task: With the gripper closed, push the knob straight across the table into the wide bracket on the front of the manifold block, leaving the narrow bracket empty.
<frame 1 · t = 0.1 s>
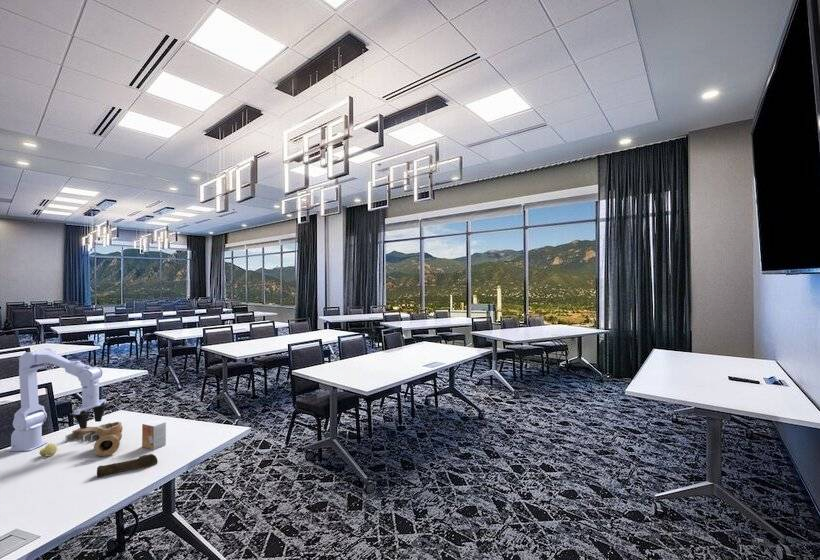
hand: (90, 424, 162), 10 cm above the table, tool pointing down, fingers open, 7 cm apart
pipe: (108, 450, 159), on the table
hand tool: (128, 470, 142), on the table
knob: (48, 456, 154), on the table
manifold: (95, 436, 173), on the table
small box: (154, 446, 162), on the table
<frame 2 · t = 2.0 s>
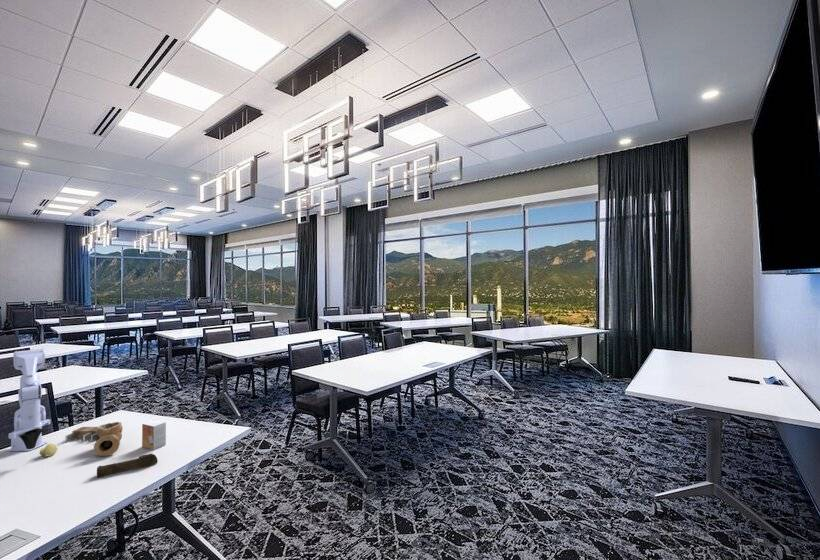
hand: (30, 448, 147), 6 cm above the table, tool pointing down, fingers closed
nothing on the table moved.
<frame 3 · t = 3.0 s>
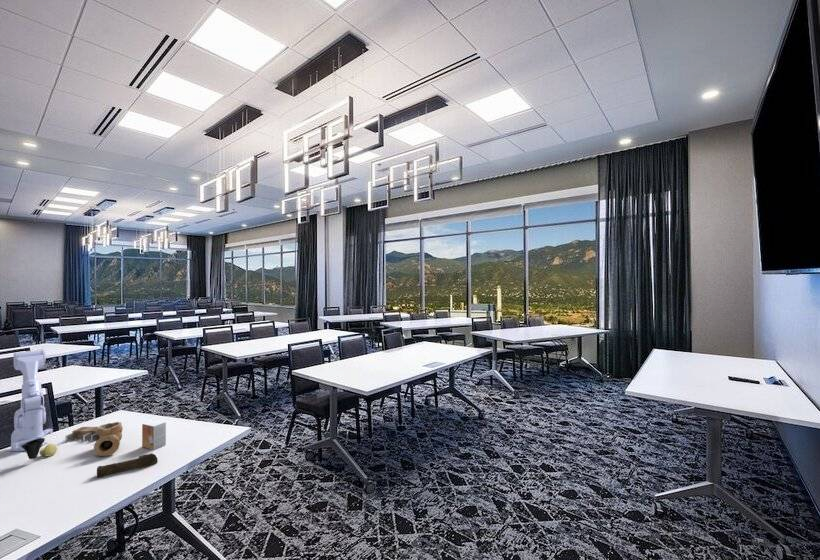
hand: (33, 458, 148), 2 cm above the table, tool pointing down, fingers closed
nothing on the table moved.
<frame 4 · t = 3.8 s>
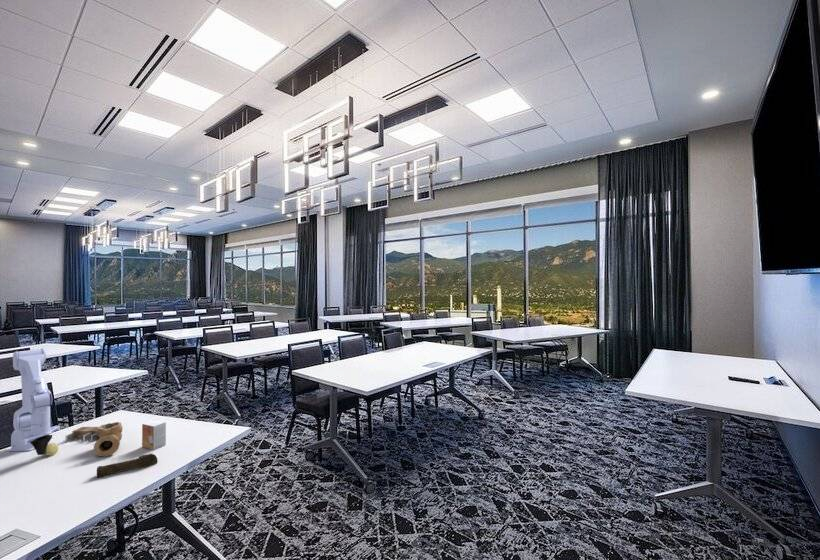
hand: (41, 454, 151), 2 cm above the table, tool pointing down, fingers closed
knob: (49, 455, 155), on the table, touching gripper
everything else where it was.
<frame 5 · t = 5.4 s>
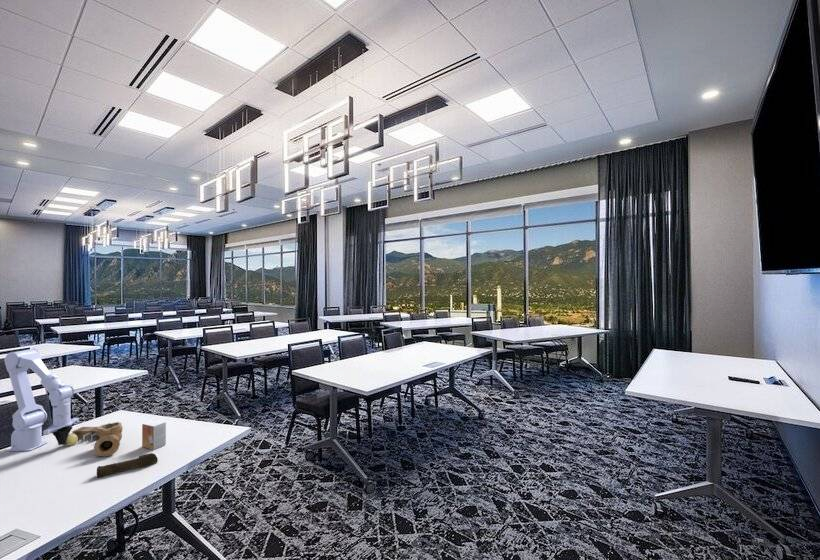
hand: (62, 444, 160), 2 cm above the table, tool pointing down, fingers closed
knob: (69, 445, 164), on the table, touching gripper
everything else where it was.
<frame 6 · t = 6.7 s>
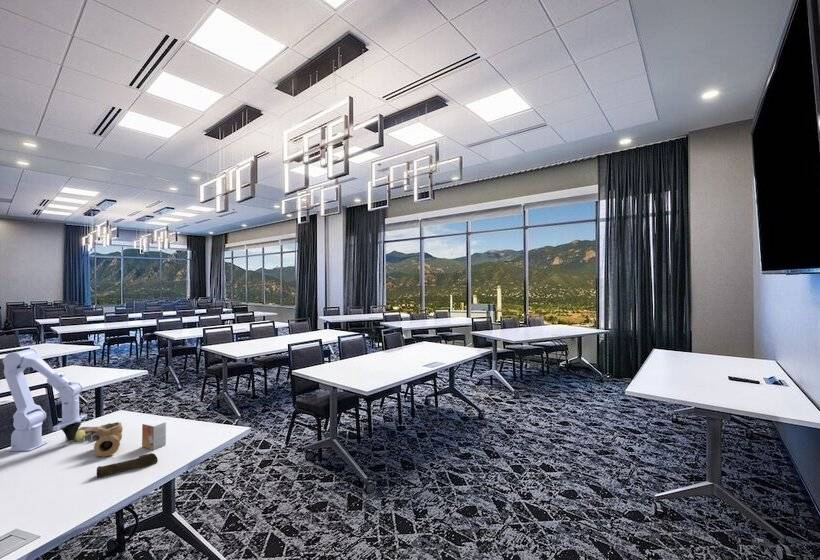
hand: (70, 440, 165), 2 cm above the table, tool pointing down, fingers closed
knob: (78, 441, 168), on the table, touching gripper, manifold
everything else where it was.
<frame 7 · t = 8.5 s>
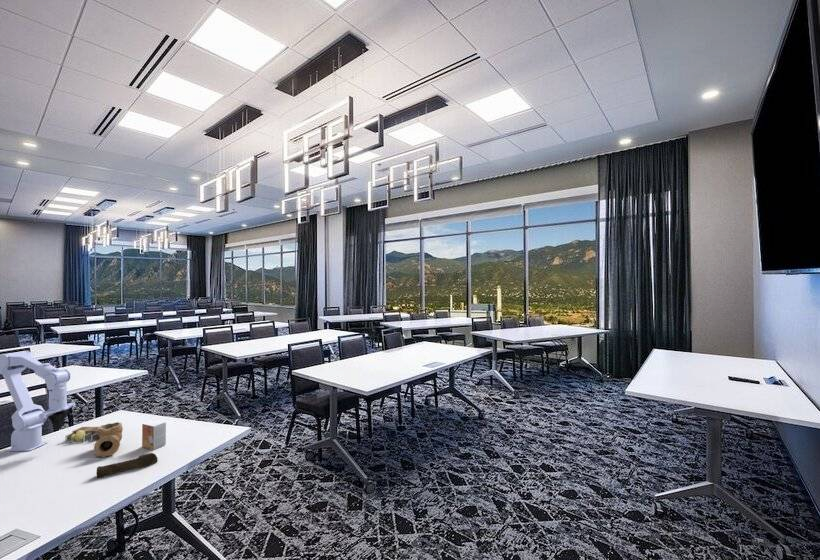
hand: (58, 428, 159), 9 cm above the table, tool pointing down, fingers closed
knob: (78, 441, 168), on the table
everything else where it was.
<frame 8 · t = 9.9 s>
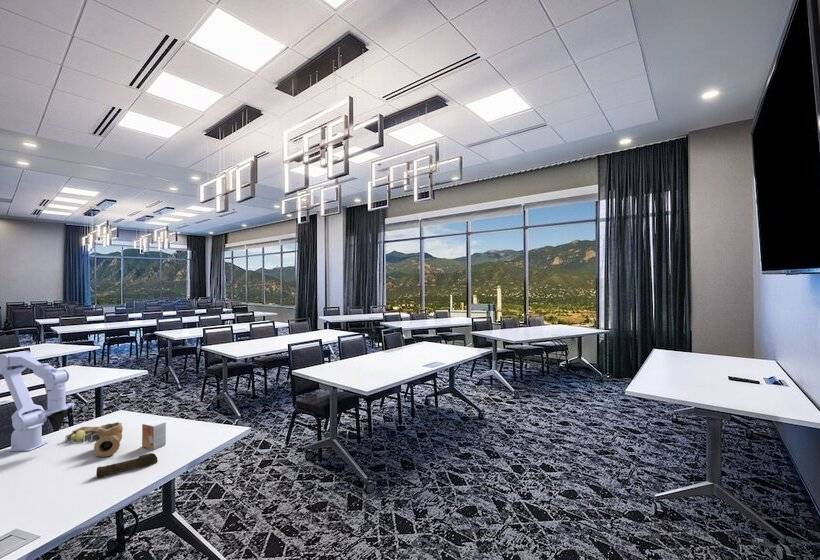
hand: (56, 428, 159), 9 cm above the table, tool pointing down, fingers closed
nothing on the table moved.
at the end: knob 0.9 cm from the target spot on the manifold, point 0.0 cm above the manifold's base; knob moved 13.9 cm from its start; knob tilted 0° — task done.
